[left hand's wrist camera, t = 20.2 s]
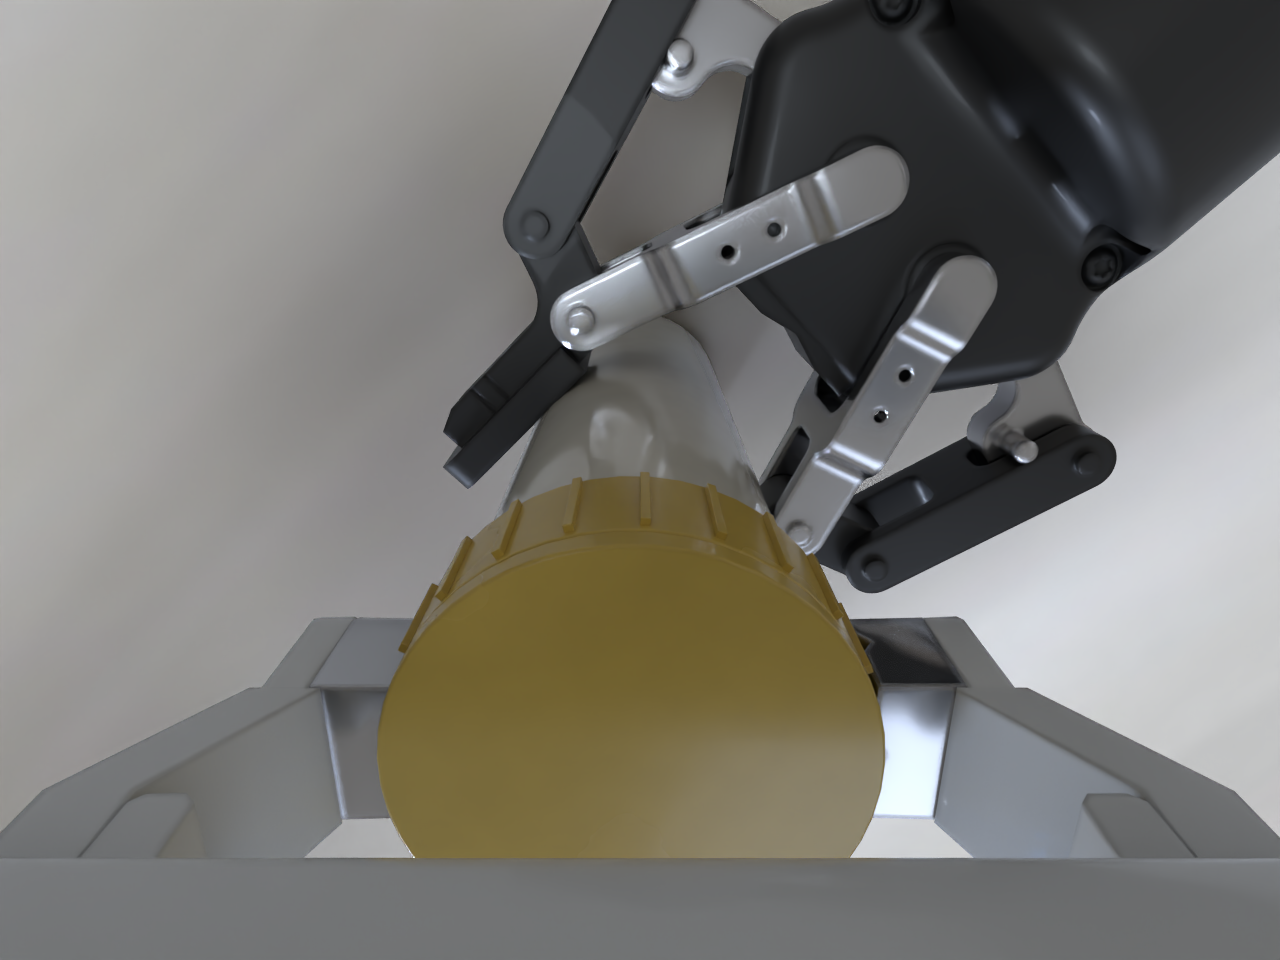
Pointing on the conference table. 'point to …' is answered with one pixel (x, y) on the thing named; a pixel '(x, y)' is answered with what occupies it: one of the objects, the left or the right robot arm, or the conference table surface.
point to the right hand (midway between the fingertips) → (555, 544)
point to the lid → (631, 688)
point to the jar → (640, 422)
